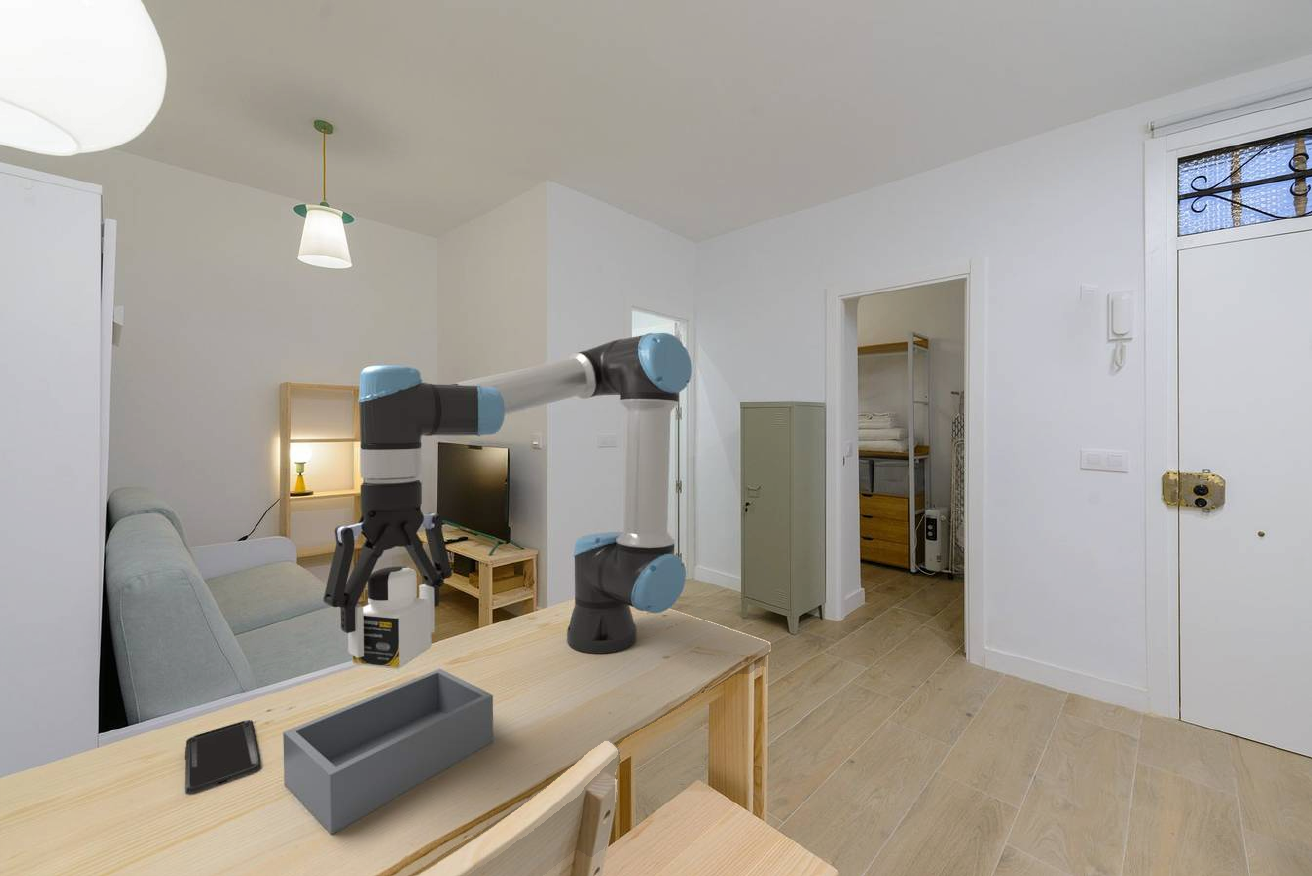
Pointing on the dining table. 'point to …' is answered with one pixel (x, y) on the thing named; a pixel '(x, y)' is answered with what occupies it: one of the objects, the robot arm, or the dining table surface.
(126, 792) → the dining table surface
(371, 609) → the medicine bottle
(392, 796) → the slate box
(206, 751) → the phone
